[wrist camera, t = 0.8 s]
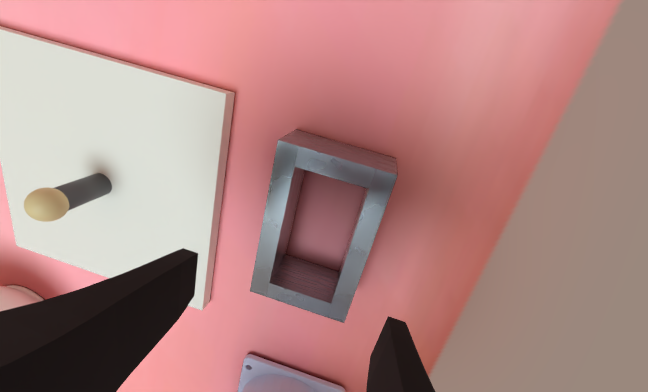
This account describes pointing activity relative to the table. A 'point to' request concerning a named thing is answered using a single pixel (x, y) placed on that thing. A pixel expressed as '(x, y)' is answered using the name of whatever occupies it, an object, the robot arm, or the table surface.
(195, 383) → the table surface
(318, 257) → the table surface
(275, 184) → the grey rectangular frame
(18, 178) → the keeper board
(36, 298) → the lidded jar
